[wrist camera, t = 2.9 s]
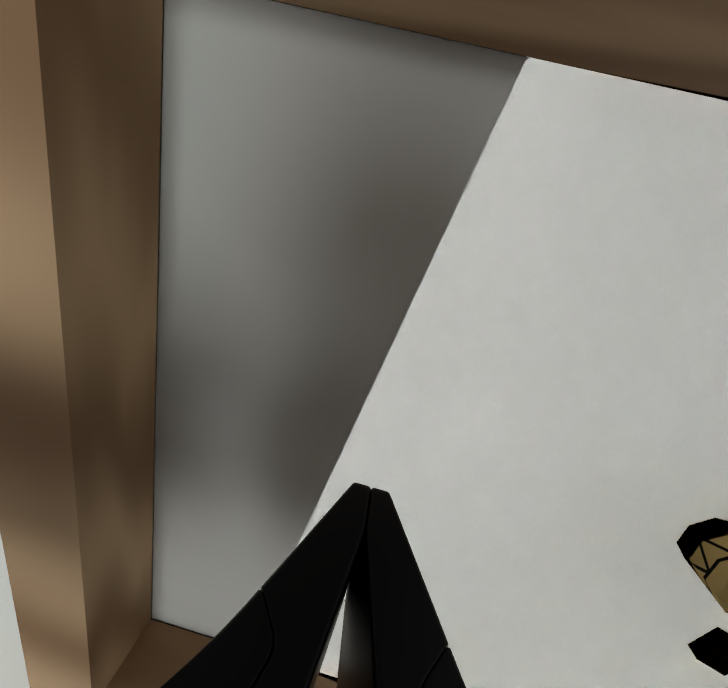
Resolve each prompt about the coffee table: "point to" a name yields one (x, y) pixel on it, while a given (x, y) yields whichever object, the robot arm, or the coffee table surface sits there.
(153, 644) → the wooden u-frame
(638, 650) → the coffee table surface
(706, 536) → the dice set
